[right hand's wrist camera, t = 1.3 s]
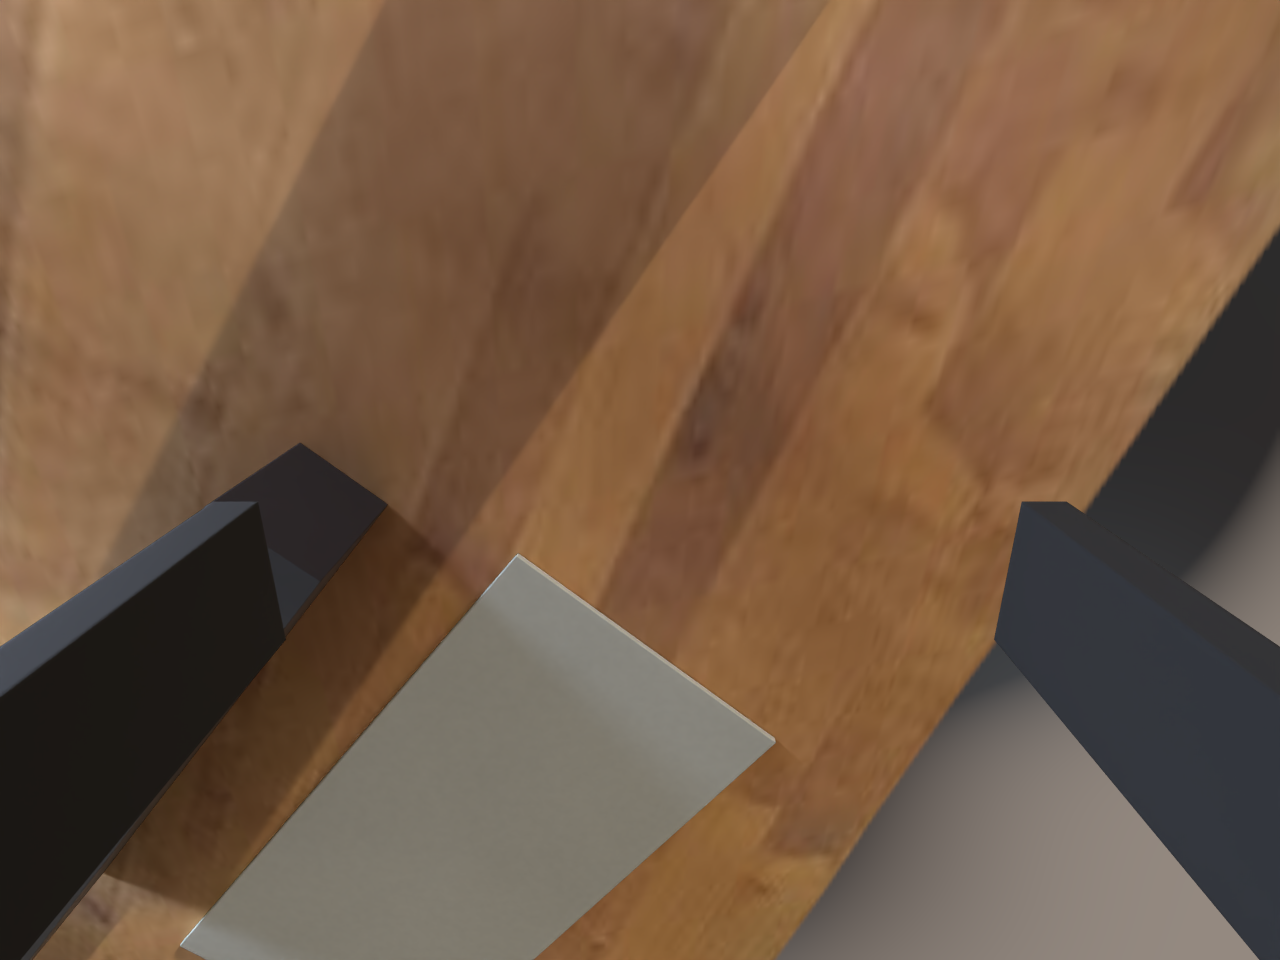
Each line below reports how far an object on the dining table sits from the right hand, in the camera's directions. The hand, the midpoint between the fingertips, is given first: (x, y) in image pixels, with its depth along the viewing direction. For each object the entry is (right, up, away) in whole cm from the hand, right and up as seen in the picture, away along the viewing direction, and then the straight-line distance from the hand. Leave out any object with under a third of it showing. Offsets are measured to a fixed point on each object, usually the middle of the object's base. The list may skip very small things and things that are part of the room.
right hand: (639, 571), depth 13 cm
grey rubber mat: (-11, -20, +31) cm, 38 cm away
